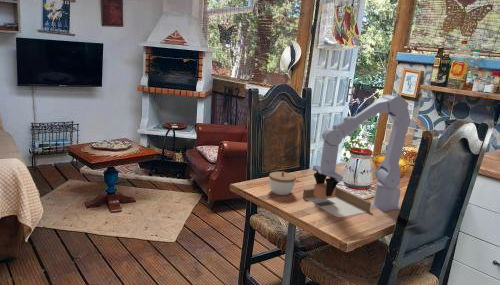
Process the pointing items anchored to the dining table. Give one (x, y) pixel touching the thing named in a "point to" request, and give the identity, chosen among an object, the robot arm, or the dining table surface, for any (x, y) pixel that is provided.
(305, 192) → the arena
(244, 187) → the dining table surface
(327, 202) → the pad
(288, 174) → the lidded jar
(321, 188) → the bar
